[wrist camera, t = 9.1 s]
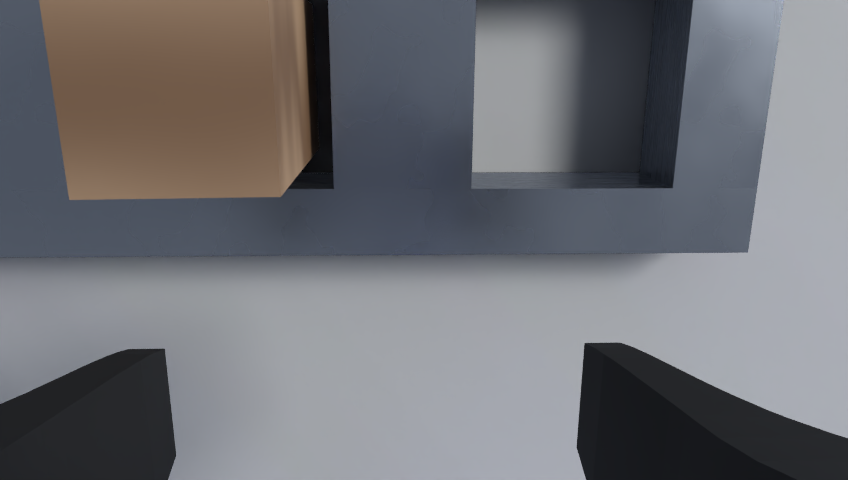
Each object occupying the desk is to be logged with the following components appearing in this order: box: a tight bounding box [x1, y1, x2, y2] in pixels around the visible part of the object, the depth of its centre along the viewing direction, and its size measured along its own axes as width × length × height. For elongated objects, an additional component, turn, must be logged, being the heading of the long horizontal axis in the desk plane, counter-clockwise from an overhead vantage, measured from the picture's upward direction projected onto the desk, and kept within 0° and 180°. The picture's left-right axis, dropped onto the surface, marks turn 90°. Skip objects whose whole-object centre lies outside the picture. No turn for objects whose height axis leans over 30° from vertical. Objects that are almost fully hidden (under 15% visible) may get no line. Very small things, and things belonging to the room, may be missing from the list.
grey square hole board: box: [0, 0, 784, 257], centre depth 18 cm, size 9×28×2 cm, turn 89°
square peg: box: [39, 0, 319, 200], centre depth 16 cm, size 4×4×7 cm
